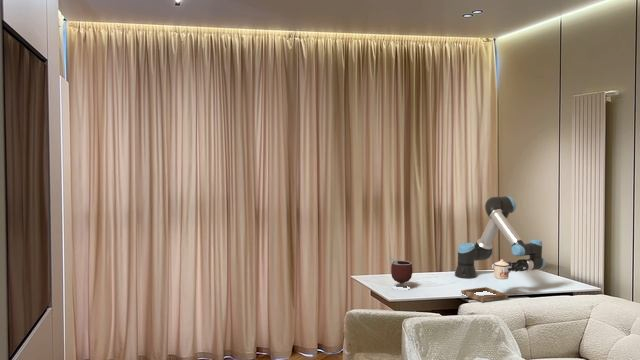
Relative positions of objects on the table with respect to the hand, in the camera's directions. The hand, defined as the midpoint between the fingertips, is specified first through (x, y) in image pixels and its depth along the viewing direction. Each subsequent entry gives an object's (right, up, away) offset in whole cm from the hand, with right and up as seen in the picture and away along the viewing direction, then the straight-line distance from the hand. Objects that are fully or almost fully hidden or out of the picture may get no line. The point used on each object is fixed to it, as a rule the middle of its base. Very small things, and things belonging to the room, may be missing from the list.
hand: (497, 268), depth 378 cm
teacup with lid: (+4, -7, +3) cm, 8 cm away
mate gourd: (-59, -16, +19) cm, 64 cm away
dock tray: (-9, -18, -1) cm, 20 cm away
